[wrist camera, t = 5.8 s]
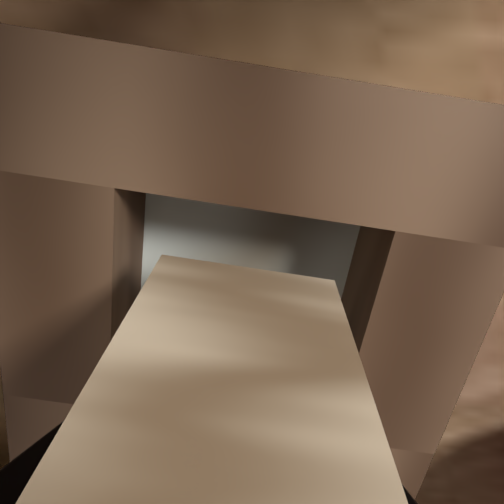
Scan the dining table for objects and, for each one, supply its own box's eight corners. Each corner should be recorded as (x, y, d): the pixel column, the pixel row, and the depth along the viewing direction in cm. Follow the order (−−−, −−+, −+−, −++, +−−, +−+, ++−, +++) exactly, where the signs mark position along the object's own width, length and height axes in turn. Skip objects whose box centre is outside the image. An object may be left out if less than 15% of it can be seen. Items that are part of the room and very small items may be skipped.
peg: (337, 278, 10) (475, 677, 3) (302, 415, 11) (350, 866, 5) (159, 252, 10) (-58, 610, 3) (149, 393, 11) (-10, 826, 5)
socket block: (494, 106, 12) (579, 117, 9) (378, 436, 17) (404, 522, 14) (49, 33, 12) (-34, 17, 8) (61, 392, 16) (10, 470, 13)
